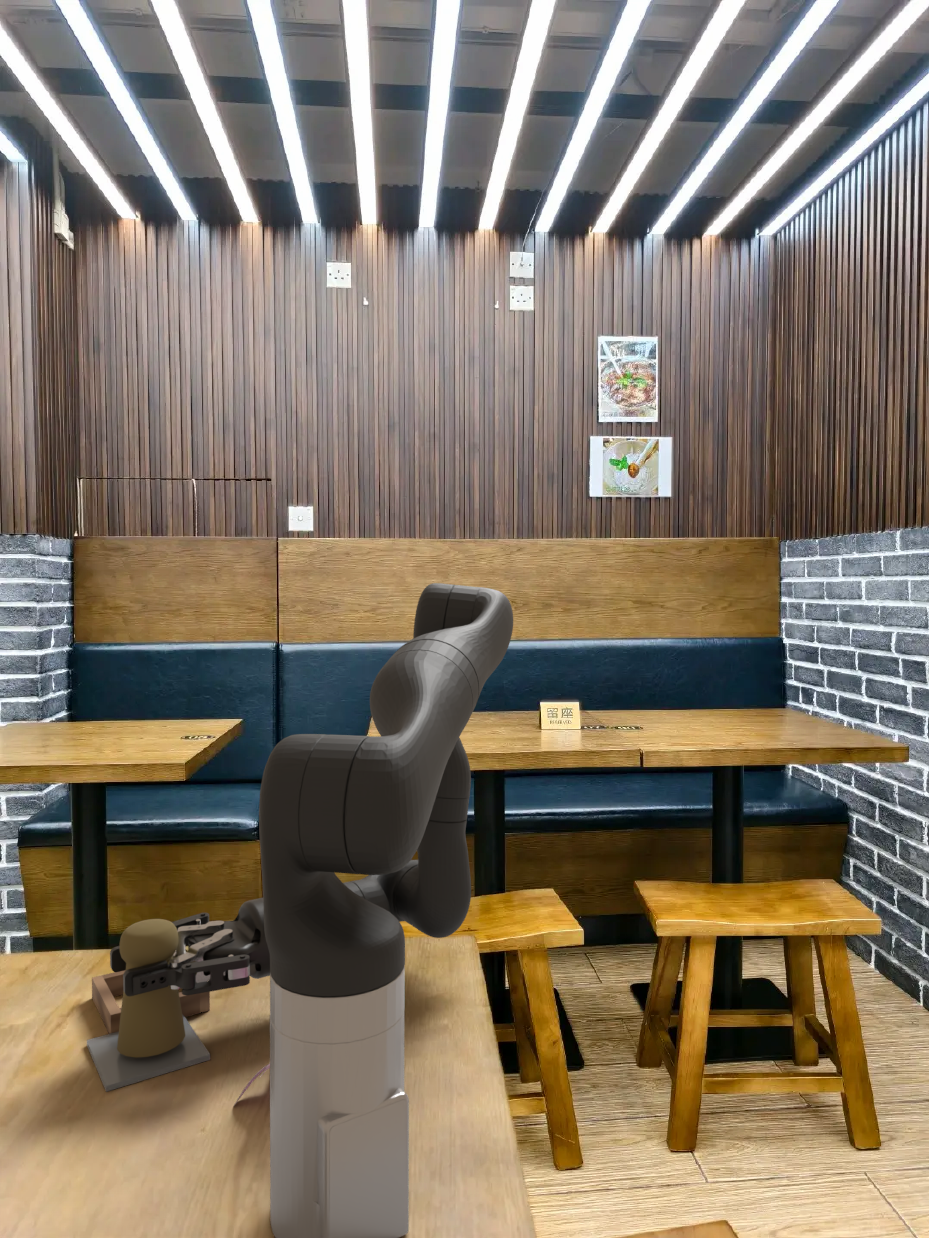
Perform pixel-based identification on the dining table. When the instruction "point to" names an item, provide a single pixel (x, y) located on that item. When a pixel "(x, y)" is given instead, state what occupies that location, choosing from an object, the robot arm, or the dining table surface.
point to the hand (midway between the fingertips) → (118, 971)
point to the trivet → (143, 1059)
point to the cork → (149, 993)
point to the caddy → (113, 986)
